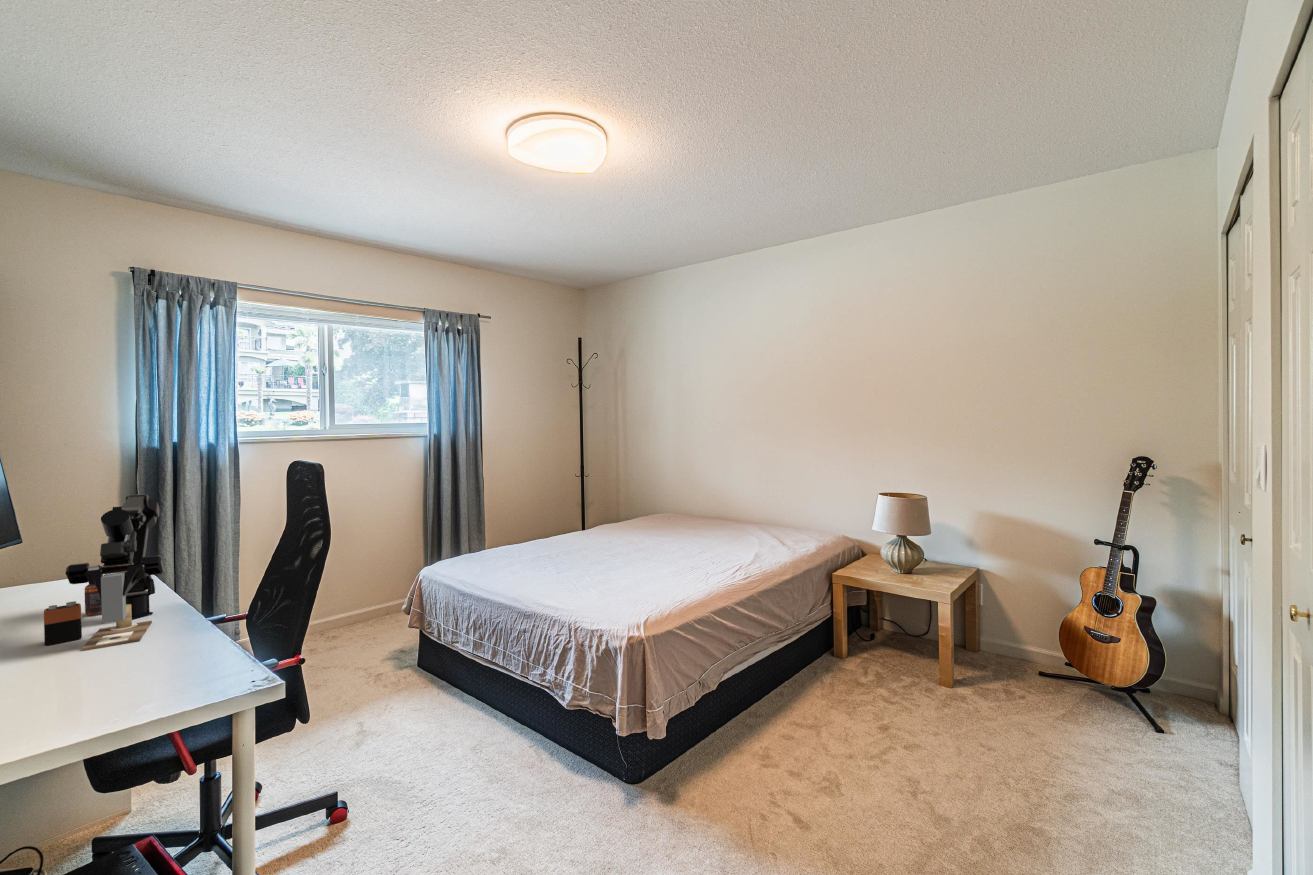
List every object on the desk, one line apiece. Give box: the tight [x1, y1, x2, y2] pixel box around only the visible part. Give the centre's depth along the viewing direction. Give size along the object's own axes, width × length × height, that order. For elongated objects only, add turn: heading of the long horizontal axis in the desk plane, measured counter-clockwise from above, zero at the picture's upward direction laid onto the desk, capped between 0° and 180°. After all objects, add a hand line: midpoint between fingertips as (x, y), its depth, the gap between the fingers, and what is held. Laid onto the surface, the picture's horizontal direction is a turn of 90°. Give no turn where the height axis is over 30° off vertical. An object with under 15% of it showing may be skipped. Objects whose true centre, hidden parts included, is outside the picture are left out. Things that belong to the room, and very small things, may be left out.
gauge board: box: [80, 604, 153, 652], centre depth 153 cm, size 18×11×7 cm, turn 34°
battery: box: [43, 600, 83, 647], centre depth 150 cm, size 4×7×10 cm, turn 137°
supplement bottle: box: [84, 583, 102, 617], centre depth 174 cm, size 6×6×11 cm
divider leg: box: [101, 572, 126, 624], centre depth 149 cm, size 4×4×12 cm
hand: (112, 596), depth 148 cm, fingers closed on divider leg, 4 cm apart
